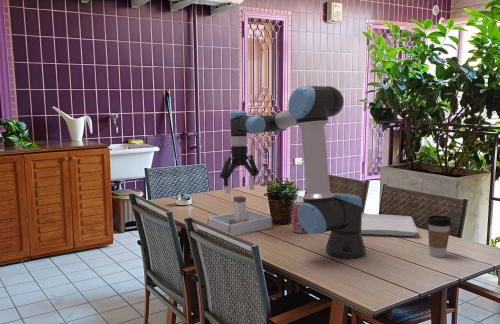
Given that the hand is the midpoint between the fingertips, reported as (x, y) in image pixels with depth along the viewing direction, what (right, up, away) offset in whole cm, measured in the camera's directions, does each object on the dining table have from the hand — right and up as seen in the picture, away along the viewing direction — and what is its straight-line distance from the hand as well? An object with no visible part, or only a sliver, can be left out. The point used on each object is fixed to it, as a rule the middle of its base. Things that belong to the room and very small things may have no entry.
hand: (240, 191), depth 223 cm
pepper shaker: (0, -17, +3) cm, 17 cm away
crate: (0, -17, +3) cm, 17 cm away
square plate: (+66, -18, 0) cm, 68 cm away
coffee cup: (+76, -22, -37) cm, 88 cm away
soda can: (+27, -18, -4) cm, 33 cm away
